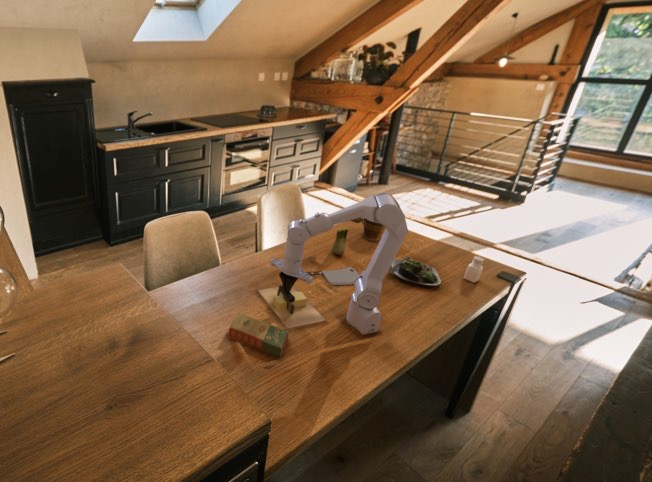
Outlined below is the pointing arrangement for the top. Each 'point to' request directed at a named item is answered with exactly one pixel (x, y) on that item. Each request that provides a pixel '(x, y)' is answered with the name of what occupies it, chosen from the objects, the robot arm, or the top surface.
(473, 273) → the pepper shaker
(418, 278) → the salad plate
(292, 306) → the board
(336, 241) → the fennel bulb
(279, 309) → the butter slice
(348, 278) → the kitchen cleaver
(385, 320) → the top surface
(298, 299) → the butter block
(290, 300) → the dough scraper
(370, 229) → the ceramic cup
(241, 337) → the carton
